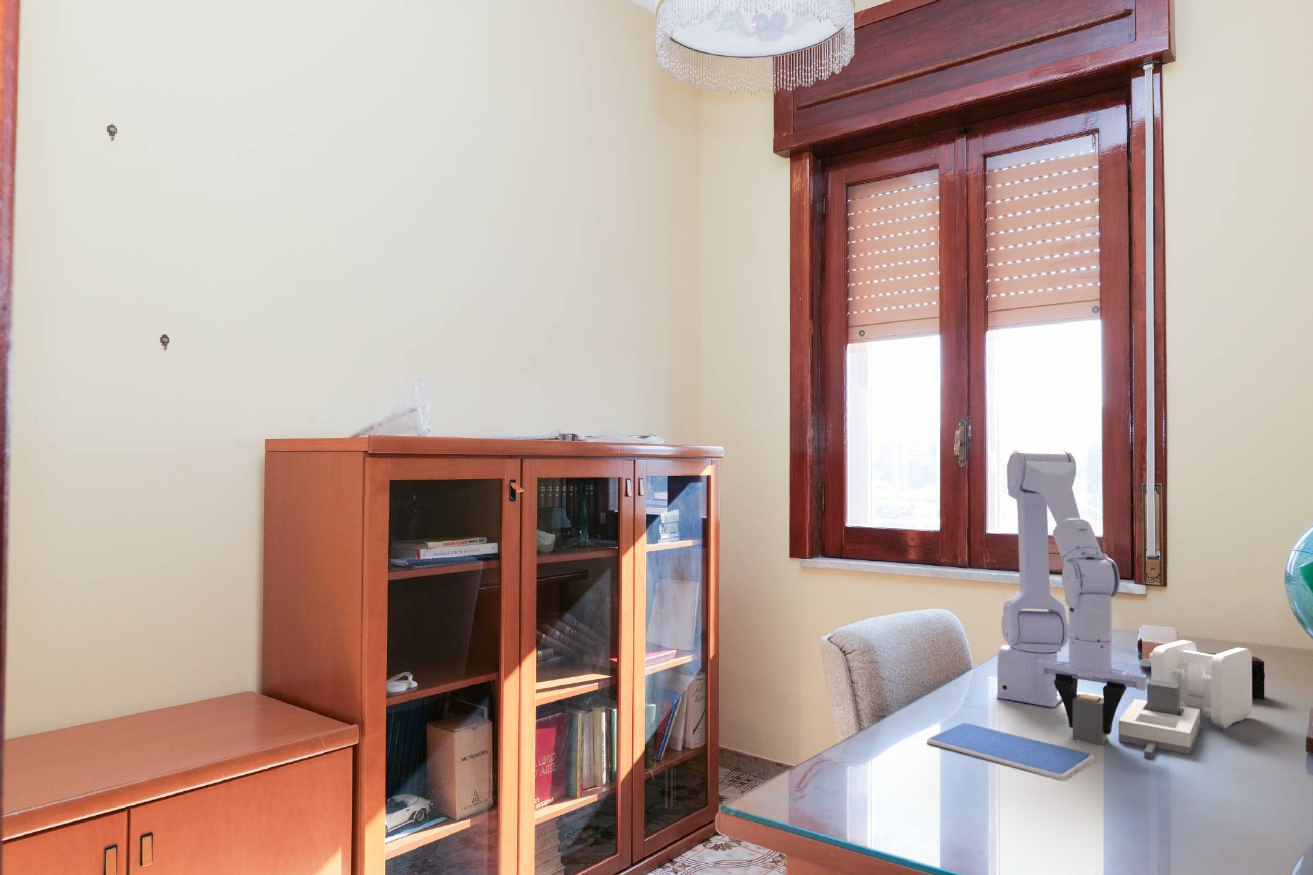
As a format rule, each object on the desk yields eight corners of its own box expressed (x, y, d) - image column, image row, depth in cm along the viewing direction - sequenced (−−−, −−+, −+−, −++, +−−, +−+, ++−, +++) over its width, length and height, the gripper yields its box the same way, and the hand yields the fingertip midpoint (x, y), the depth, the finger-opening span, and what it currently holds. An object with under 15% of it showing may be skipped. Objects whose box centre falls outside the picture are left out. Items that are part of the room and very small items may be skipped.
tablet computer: (1096, 762, 115) (1096, 752, 115) (1063, 785, 106) (1063, 774, 106) (963, 729, 129) (963, 721, 129) (924, 747, 120) (924, 738, 120)
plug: (1072, 739, 123) (1072, 697, 124) (1078, 733, 126) (1078, 691, 127) (1102, 745, 121) (1102, 702, 121) (1107, 738, 124) (1107, 696, 124)
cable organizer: (1220, 733, 128) (1220, 658, 128) (1147, 716, 136) (1147, 646, 137) (1253, 717, 137) (1253, 647, 138) (1183, 702, 146) (1182, 636, 146)
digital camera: (1199, 695, 151) (1199, 656, 151) (1191, 688, 156) (1191, 650, 157) (1267, 701, 148) (1266, 662, 148) (1256, 694, 153) (1256, 656, 153)
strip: (1185, 765, 113) (1185, 713, 113) (1111, 750, 118) (1111, 701, 119) (1200, 728, 130) (1199, 683, 130) (1134, 716, 136) (1134, 674, 136)
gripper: (1032, 635, 126) (1031, 725, 125) (1141, 649, 117) (1141, 746, 116) (1043, 629, 131) (1043, 715, 131) (1148, 642, 122) (1148, 734, 122)
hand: (1090, 729), depth 124 cm, fingers closed on plug, 4 cm apart
